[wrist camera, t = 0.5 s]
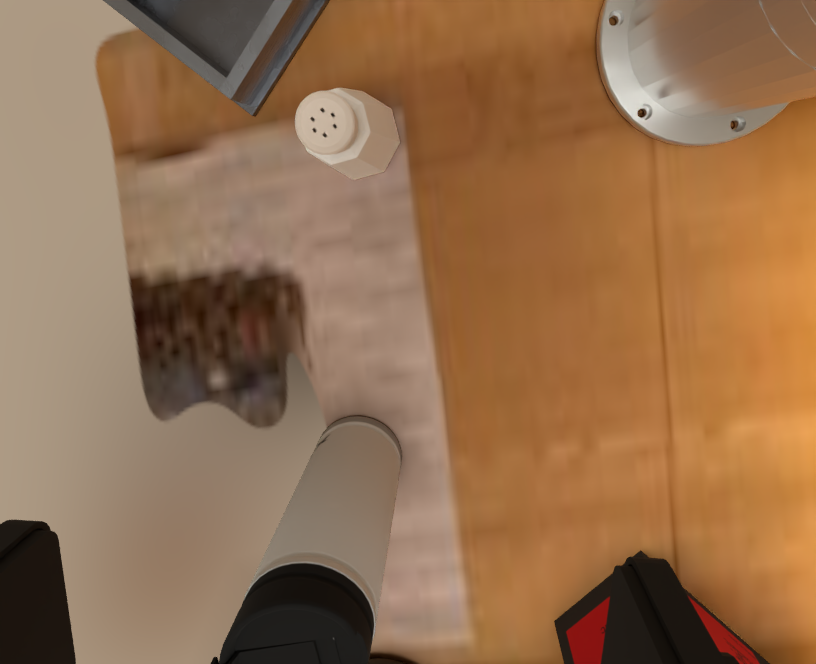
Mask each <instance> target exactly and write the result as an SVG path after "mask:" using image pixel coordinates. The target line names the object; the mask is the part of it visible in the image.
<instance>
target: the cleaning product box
mask: <svg viewBox="0 0 816 664" xmlns="http://www.w3.org/2000/svg"><path fill="white" fill-rule="evenodd" d="M633 557H641V558H649V557H648V556H647V555H645V554H644V553H643V552H642V551H639V552H638V553H637V554H636V555H635V556H633ZM622 566H625V564H624V565H622ZM612 578H613V574H611V575H610V576H609V577H608V578H606V579H605V580H604V581H603V582H602V583H600V584H599V585H598V586H597V587H595V588H594V589H593V590H592V591H591V592H589V593H588V594H587V595H586V596H584V597H583V598H582V599H581V600H580V601H578V602H577V603H576V604H575V605H573V606H572V607H571V608H570V609H569V610H567V611H566V612H565V613H564V614H562V615H561V616H560V617H559V618H558V619H556V620H555V621H554V622H555V627H556V631H557V635H558V639H559V643H560V648H561V652H562V656H563V660H564V664H601V658H602V651H603V644H604V636H605V629H606V622H607V614H608V607H609V600H610V592H611V585H612ZM683 589H684V588H683ZM684 590H685V589H684ZM685 592H686V594H687V596H688V597H689V599H690V601H691V603H692V604H693V606H694V608H695V609H696V611H697V613H698V615H699V616H700V618H701V620H702V622H703V623H704V625H705V627H706V629H707V630H708V632H709V634H710V635H711V637H712V639H713V641H714V642H715V644H716V646H717V648H718V649H719V651H720V652H728V653H729V654H731V655H732V656H734V657H735V658H736V660H737V661H738V662H739V664H769V663H768V662H767V661H766V660H765V659H764V658H762V657H761V656H760V655H759V654H758V653H757V652H756V651H754V650H753V649H752V648H751V647H750V646H749V645H748V644H747V643H745V642H744V641H743V640H742V639H741V638H740V637H739V636H737V635H736V634H735V633H734V632H733V631H732V630H731V629H729V628H728V627H727V626H726V625H725V624H724V623H723V622H722V621H720V620H719V619H718V618H717V617H716V616H715V615H714V614H712V613H711V612H710V611H709V610H708V609H707V608H706V607H704V606H703V605H702V604H701V603H700V602H699V601H698V600H697V599H695V598H694V597H693V596H692V595H691V594H690V593H689V592H687V591H686V590H685Z"/></svg>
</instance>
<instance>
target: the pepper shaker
mask: <svg viewBox="0 0 816 664" xmlns="http://www.w3.org/2000/svg"><path fill="white" fill-rule="evenodd" d="M295 129H296V132H297V135H298V137H299V139H300V141H301V142H302V144H303V145H304V146H305V148H306V151H307V152H308V153H310V154H311V155H313V156H314V157H316V158H317V159H319V160H320V161H322V162H323V163H325V164H327V165H328V166H330V167H332V168H333V169H335V170H337V171H338V172H340V173H342V174H343V175H345V176H347V177H349V178H350V179H352V180H357V179H360V178H364V177H368V176H371V175H375V174H378V173H382V172H385V170H386V168H387V166H388V164H389V162H390V161H391V159H392V157H393V155H394V153H395V151H396V150H397V148H398V146H399V144H400V139H399V135H398V131H397V127H396V123H395V120H394V116H393V112H392V109H391V108H390V107H388V106H386V105H385V104H383V103H382V102H380V101H378V100H377V99H375V98H373V97H372V96H370V95H368V94H367V93H365V92H363V91H359V90H353V89H347V88H335V89H332V90H328V91H318V92H314V93H312V94H310V95H309V96H307V97H305V99H304V100H303V101H302V102H301V103H300V105H299V107H298V109H297V111H296V116H295Z"/></svg>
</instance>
